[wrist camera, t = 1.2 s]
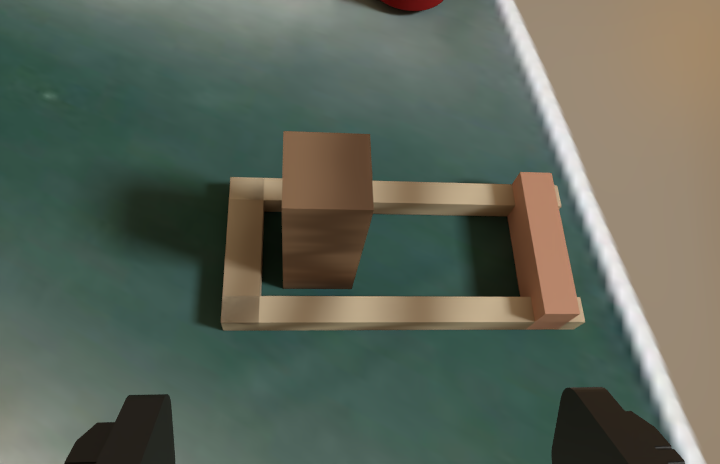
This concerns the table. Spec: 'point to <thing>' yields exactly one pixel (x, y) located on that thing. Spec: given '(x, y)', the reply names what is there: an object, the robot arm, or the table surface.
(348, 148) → the block
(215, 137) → the table surface
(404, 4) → the beverage can
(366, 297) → the frame
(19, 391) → the table surface
